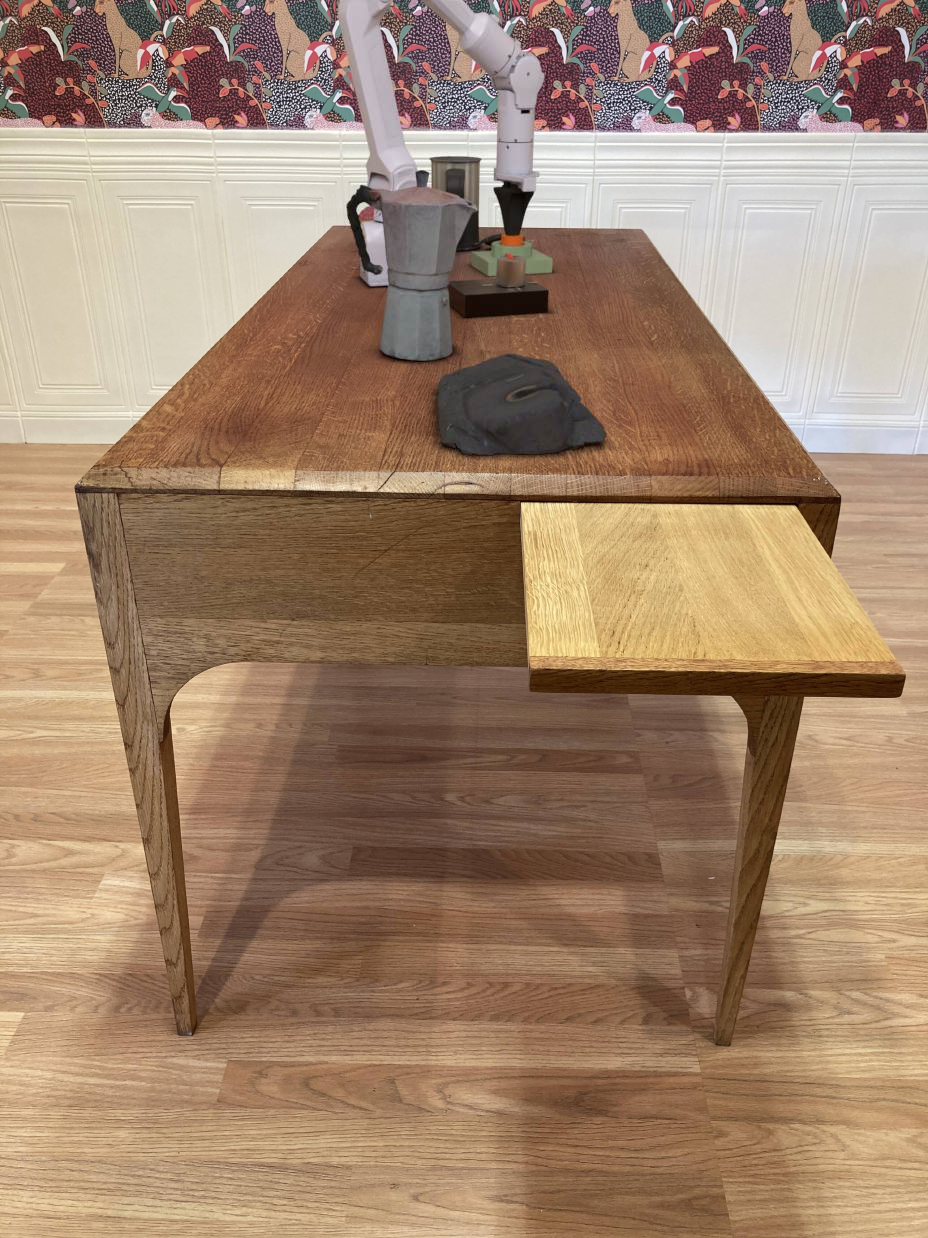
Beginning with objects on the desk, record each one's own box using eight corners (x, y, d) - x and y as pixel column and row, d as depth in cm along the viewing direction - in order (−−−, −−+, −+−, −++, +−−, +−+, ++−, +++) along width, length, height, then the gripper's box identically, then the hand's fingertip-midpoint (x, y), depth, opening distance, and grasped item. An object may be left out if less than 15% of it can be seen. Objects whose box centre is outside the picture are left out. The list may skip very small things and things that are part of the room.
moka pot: (467, 367, 110) (470, 176, 100) (339, 358, 113) (328, 171, 103) (483, 345, 118) (486, 166, 108) (362, 337, 121) (354, 162, 111)
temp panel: (465, 317, 130) (465, 293, 129) (446, 302, 138) (446, 279, 136) (548, 312, 133) (549, 288, 132) (526, 297, 141) (526, 275, 139)
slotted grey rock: (571, 381, 106) (573, 337, 104) (610, 453, 87) (615, 402, 85) (432, 383, 105) (432, 339, 103) (442, 457, 86) (442, 405, 84)
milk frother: (424, 243, 178) (423, 155, 170) (504, 239, 182) (506, 153, 175) (445, 257, 166) (445, 163, 159) (531, 253, 171) (534, 161, 163)
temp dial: (528, 286, 133) (530, 257, 131) (501, 288, 132) (502, 259, 130) (519, 280, 137) (520, 252, 135) (492, 282, 136) (493, 253, 134)
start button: (505, 248, 155) (505, 236, 154) (497, 244, 158) (498, 233, 157) (526, 247, 156) (526, 235, 155) (518, 243, 159) (519, 232, 158)
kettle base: (488, 276, 154) (488, 249, 152) (471, 265, 161) (471, 240, 159) (552, 272, 156) (553, 246, 154) (532, 262, 164) (533, 237, 162)
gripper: (556, 144, 144) (551, 240, 151) (523, 136, 156) (520, 226, 163) (512, 145, 142) (509, 242, 149) (482, 137, 154) (480, 227, 161)
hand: (512, 234), depth 156 cm, fingers closed
